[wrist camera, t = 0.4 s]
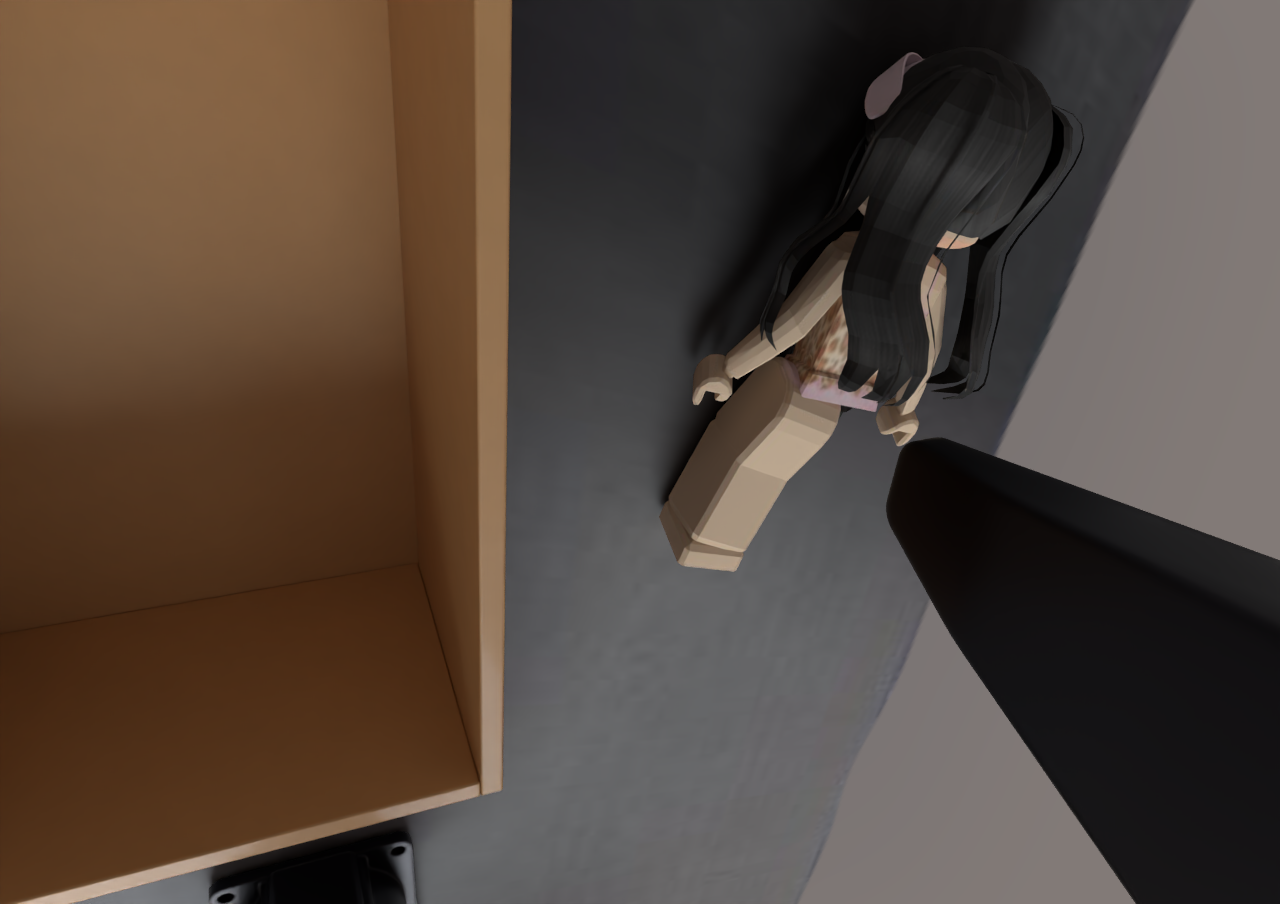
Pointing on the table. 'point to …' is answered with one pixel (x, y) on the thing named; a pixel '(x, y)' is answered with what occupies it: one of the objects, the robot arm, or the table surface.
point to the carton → (247, 426)
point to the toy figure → (874, 288)
